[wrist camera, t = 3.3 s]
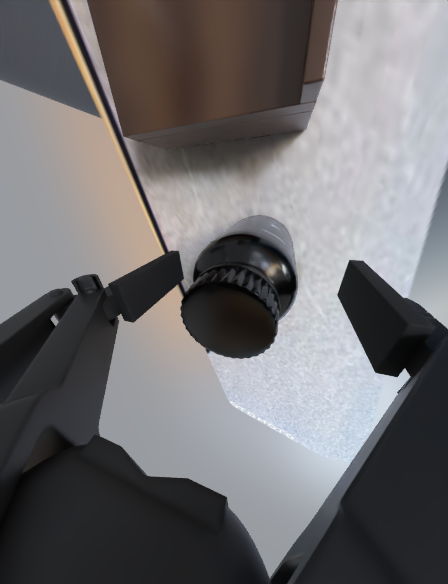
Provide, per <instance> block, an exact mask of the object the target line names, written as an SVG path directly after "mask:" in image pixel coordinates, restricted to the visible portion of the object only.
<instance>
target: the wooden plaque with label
mask: <svg viewBox="0 0 448 584" xmlns="http://www.w3.org/2000/svg"><path fill="white" fill-rule="evenodd" d="M87 2H88V5H89V9H90V13H91V17H92V20H93V24H94V28H95V32H96V35H97V39H98V43H99V47H100V50H101V54H102V58H103V62H104V65H105V69H106V73H107V77H108V80H109V84H110V88H111V92H112V95H113V99H114V103H115V107H116V110H117V114H118V118H119V122H120V125H121V129H122V133H123V136H124V137H127V138H130V139H133V140H137V141H140V142H143V143H146V144H149V145H152V146H155V147H158V148H161V149H165V150H168V149H175V148H182V147H189V146H196V145H203V144H210V143H217V142H224V141H231V140H238V139H245V138H252V137H259V136H266V135H273V134H280V133H287V132H294V131H301V130H305V129H306V128H307V125H308V122H309V119H310V117H311V114H312V111H313V109H314V106H315V103H316V101H317V97H318V95H319V92H320V89H321V86H322V83H323V81H324V78H325V72H326V66H327V60H328V55H329V49H330V43H331V37H332V31H333V25H334V19H335V14H336V8H337V2H338V0H87Z"/></svg>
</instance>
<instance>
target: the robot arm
mask: <svg viewBox="0 0 448 584" xmlns="http://www.w3.org/2000/svg"><path fill="white" fill-rule="evenodd" d="M183 279H184V277H183V272H182V266H181V261H180V255H179V251H170V252H168V253H166V254H164V255H162V256H160V257H159V258H157V259H155V260H153V261H151V262H149V263H147V264H146V265H143V266H141V267H140V268H138V269H136V270H134V271H132V272H130V273H128V274H126V275H124V276H123V277H121V278H119V279H117V280H115V281H113V282H111V283H109V284H108V285H109V286H108V287H106V288H103V285H102V283H101V281H100V279H99V277H98V275H96V274H90V275H84V276H81V277H78V278H76V279H74V280H72V281H71V282H72V284H73V285H74V287H75V289H76V291H77V292H78V295H73V294H72V292H71V290H70V289H68V288H62V289H55V290H52V291H50V292H49V293H47V294H45V295H43V296H42V297H40V298H39V299H37V300H36V301H35V302H33V303H31V304H30V305H29V306H27V307H25V308H24V309H22V310H21V311H20V312H18V313H17V314H15V315H14V316H12V317H10V318H9V319H8V320H6V321H5V322H3V323H2V324H0V584H448V329H447V328H446V327H445V326H444V325H442V324H441V323H440V322H439V321H438V320H437V319H435V318H434V317H433V316H432V315H431V314H430V313H427V311H426V310H425V309H424V308H423V307H421V306H420V305H419V304H417V303H415V302H414V301H412V300H410V299H408V298H403V297H402V296H401V295H400V294H398V293H397V292H396V291H395V290H394V289H393V288H392V287H391V286H390V285H389V284H388V283H386V282H385V281H384V280H383V279H382V278H381V277H380V276H379V275H378V274H377V273H376V272H374V271H373V270H372V269H371V268H370V267H369V266H368V265H367V264H366V263H365V262H364V261H356V260H349V263H348V266H347V269H346V271H345V274H344V277H343V280H342V283H341V286H340V289H339V292H338V297H339V299H340V301H341V303H342V306H343V308H344V310H345V312H346V314H347V316H348V318H349V320H350V322H351V324H352V326H353V328H354V330H355V332H356V334H357V336H358V338H359V340H360V342H361V344H362V346H363V348H364V350H365V352H366V355H367V357H368V359H369V361H370V363H371V365H372V367H373V369H374V371H375V373H379V374H384V375H389V376H394V377H398V376H399V374H400V373H401V372H402V371H403V369H404V368H405V369H406V370H407V372H408V373H409V375H410V376H411V377H410V378H409V380H408V381H407V382H406V383H405V384H404V385H403V387H402V388H401V389H400V390H399V391H398V392H397V393H398V395H397V396H396V398H395V399H394V401H393V402H392V404H391V405H390V407H389V408H388V410H387V411H386V413H385V414H384V415H383V417H382V418H381V420H380V421H379V423H378V424H377V426H376V427H375V429H374V430H373V432H372V433H371V434H370V436H369V437H368V439H367V440H366V442H365V443H364V445H363V446H362V448H361V449H360V451H359V452H358V453H357V455H356V456H355V458H354V459H353V461H352V462H351V464H350V465H349V467H348V468H347V470H346V471H345V473H344V474H343V476H342V477H341V478H340V480H339V481H338V483H337V484H336V486H335V487H334V489H333V490H332V492H331V493H330V495H329V496H328V498H327V499H326V500H325V502H324V503H323V505H322V506H321V508H320V509H319V511H318V512H317V514H316V515H315V516H314V518H313V519H312V521H311V522H310V524H309V525H308V526H307V528H306V529H305V530H304V531H303V533H302V534H301V535H300V536H299V538H298V539H297V541H296V542H295V543H294V544H293V546H292V547H291V549H290V550H289V551H288V553H287V555H286V556H285V557H284V559H283V560H282V562H281V563H280V564H279V566H278V568H277V569H276V570H275V572H274V573H273V575H272V576H271V578H270V579H269V576H268V573H267V571H266V568H265V565H264V563H263V561H262V558H261V556H260V554H259V552H258V550H257V548H256V546H255V544H254V542H253V540H252V538H251V536H250V535H249V533H248V531H247V530H246V528H245V527H244V525H243V524H242V523H241V521H240V520H239V519H238V517H237V516H236V515H235V514H234V513H233V512H232V511H231V510H230V509H229V508H228V502H227V497H225V496H223V495H221V494H219V493H217V492H215V491H213V490H211V489H209V488H207V487H205V486H202V485H200V484H198V483H196V482H194V481H192V480H190V479H188V478H169V477H150V476H147V475H146V474H145V473H144V471H143V470H142V469H141V468H140V467H139V466H138V465H137V464H136V462H135V461H134V460H133V459H132V458H131V457H130V456H129V455H128V453H127V452H126V451H125V450H124V449H123V448H122V447H121V446H119V445H117V444H115V443H113V442H111V441H108V440H106V439H104V438H102V437H100V434H99V429H98V426H99V419H100V414H101V409H102V404H103V399H104V394H105V389H106V384H107V379H108V374H109V369H110V364H111V359H112V353H113V349H114V344H115V339H116V334H117V329H118V323H119V320H118V317H117V316H118V315H120V314H122V316H123V319H124V320H125V321H129V322H135V321H136V320H137V319H138V318H139V317H141V316H142V315H143V314H144V313H145V312H146V311H147V310H149V309H150V308H151V307H152V306H153V305H154V304H156V303H157V302H158V301H159V300H160V299H161V298H162V297H164V296H165V295H166V294H167V293H168V292H169V291H170V290H172V289H173V288H174V287H175V286H176V285H177V284H179V283H180V282H181V281H182V280H183ZM53 315H54V316H55V317H56V319H57V320H58V322H59V323H58V324H57V326H55V325H54V323H53V322H52V321H51V317H52V316H53Z"/></svg>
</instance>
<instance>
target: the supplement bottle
mask: <svg viewBox="0 0 448 584" xmlns="http://www.w3.org/2000/svg"><path fill="white" fill-rule="evenodd" d="M297 290H298V277H297V269H296V262H295V256H294V249H293V243H292V239H291V236H290V234H289V232H288V230H287V229H286V228H285V227H284V225H283V224H281V223H280V222H279V221H277V220H276V219H274V218H271V217H268V216H262V215H257V216H251V217H248V218H245V219H243V220H241V221H240V222H238V223H237V224H235V225H234V226H233V227H231V228H230V229H228V230H227V231H226V232H224V233H223V234H222V235H220V236H219V237H218V238H216V239H215V240H213V241H212V242H211V243H210V244H209V245H208V246H207V247H206V248H205V249H204V250H203V251H202V252H201V254H200V255H199V257H198V259H197V261H196V264H195V268H194V273H193V284H192V286H191V287H190V288H189V289H188V290H187V291H186V293H185V294H184V298H183V299H182V301H181V302H182V306H181V308H180V309H181V317H182V318H183V323H184V325H185V326H186V329H187V330H188V331H189V333H190V335H191V336H192V337H193V338H194V339H195V340H196V341H197V342H198V343H200V344H201V345H202V346H203V347H205V348H207V349H208V350H209V351H212V352H215V353H216V354H219V355H223V356H225V357H231V358H240V359H243V358H251V357H252V356H258V355H259V354H260V353H264V352H265V350H266V349H269V348H270V345H271V344H272V343H273V342H274V341H275V336H276V335H277V332H278V321H279V320H280V319H281V318H283V317H284V316H285V315H286V314H287V313H288V311H289V310H290V309H291V307H292V305H293V303H294V301H295V299H296V295H297Z"/></svg>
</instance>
